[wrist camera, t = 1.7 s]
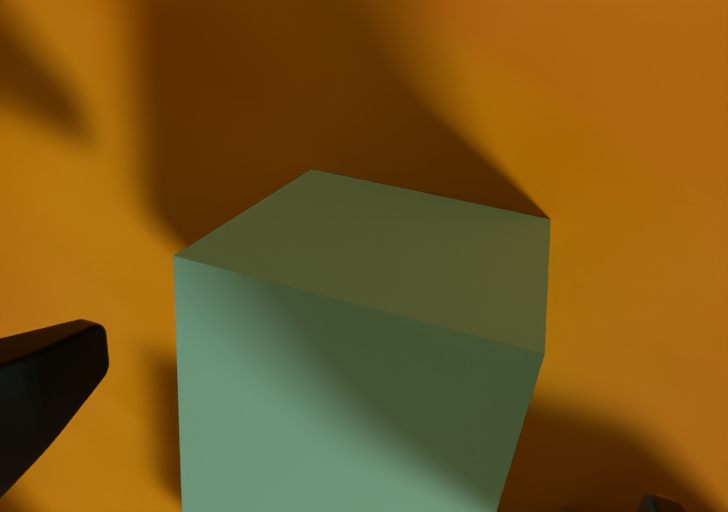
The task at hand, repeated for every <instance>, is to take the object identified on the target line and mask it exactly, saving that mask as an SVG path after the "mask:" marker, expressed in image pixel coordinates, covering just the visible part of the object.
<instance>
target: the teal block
mask: <svg viewBox="0 0 728 512" xmlns="http://www.w3.org/2000/svg"><path fill="white" fill-rule="evenodd" d="M549 242H550V219H547V218H543V217H538V216H533V215H528V214H524V213H519V212H514V211H509V210H505V209H500V208H495V207H490V206H486V205H481V204H476V203H471V202H466V201H462V200H457V199H452V198H447V197H443V196H438V195H433V194H428V193H424V192H419V191H414V190H409V189H404V188H400V187H395V186H390V185H385V184H381V183H376V182H371V181H366V180H362V179H357V178H352V177H347V176H342V175H338V174H333V173H328V172H323V171H319V170H314V169H310V170H309V171H307V172H306V173H304V174H302V175H301V176H299V177H298V178H296V179H295V180H293V181H291V182H290V183H288V184H287V185H285V186H283V187H282V188H280V189H279V190H277V191H276V192H274V193H272V194H271V195H269V196H268V197H266V198H264V199H263V200H261V201H260V202H258V203H256V204H255V205H253V206H252V207H250V208H249V209H247V210H245V211H244V212H242V213H241V214H239V215H237V216H236V217H234V218H233V219H231V220H230V221H228V222H226V223H225V224H223V225H222V226H220V227H218V228H217V229H215V230H214V231H212V232H211V233H209V234H207V235H206V236H204V237H203V238H201V239H199V240H198V241H196V242H195V243H193V244H191V245H190V246H188V247H187V248H185V249H184V250H182V251H180V252H179V253H177V254H176V255H174V256H173V257H174V287H175V317H176V347H177V377H178V408H179V438H180V468H181V498H182V512H496V511H497V508H498V505H499V502H500V498H501V495H502V492H503V488H504V485H505V482H506V479H507V475H508V472H509V469H510V465H511V462H512V459H513V456H514V452H515V449H516V446H517V443H518V439H519V436H520V433H521V429H522V426H523V423H524V420H525V416H526V413H527V410H528V406H529V403H530V400H531V397H532V393H533V390H534V387H535V383H536V380H537V377H538V374H539V370H540V367H541V364H542V361H543V357H544V354H545V332H546V309H547V287H548V264H549Z"/></svg>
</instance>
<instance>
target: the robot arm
mask: <svg viewBox="0 0 728 512" xmlns="http://www.w3.org/2000/svg"><path fill="white" fill-rule="evenodd" d="M108 367H109V355H108V345H107V335H106V330H105V328H104V327H103V326H102V325H101V324H98V323H95V322H92V321H88V320H84V319H79V320H75V321H70V322H66V323H62V324H58V325H54V326H50V327H46V328H42V329H37V330H33V331H29V332H25V333H21V334H17V335H13V336H9V337H4V338H0V498H1V497H2V496H3V495H4V494H5V493H6V492H7V491H8V490H9V489H10V488H11V487H12V486H13V485H14V484H15V483H16V482H17V480H18V479H19V478H20V477H21V476H22V475H23V474H24V473H25V472H26V471H27V470H28V469H29V468H30V467H31V466H32V465H33V464H34V462H35V461H36V460H37V459H38V458H39V457H40V456H41V455H42V454H43V453H44V452H45V451H46V449H47V448H48V447H49V446H50V445H51V444H52V442H53V441H54V440H55V439H56V438H57V436H58V435H59V434H60V433H61V431H62V430H63V429H64V428H65V426H66V425H67V424H68V423H69V421H70V420H71V419H72V417H73V416H74V415H75V414H76V412H77V411H78V410H79V409H80V407H81V406H82V405H83V403H84V402H85V401H86V400H87V398H88V397H89V396H90V395H91V393H92V392H93V391H94V389H95V388H96V387H97V386H98V384H99V383H100V382H101V381H102V379H103V378H104V376H105V375H106V373H107V370H108ZM637 512H688V511H687V510H686V508H685V507H684V506H683V505H682V504H681V503H680V502H679V501H677V500H675V499H672V498H669V497H666V496H662V495H659V494H656V493H652V492H651V493H647V494H646V495H645V496H644V497H643V499H642V501H641V503H640V505H639V507H638V509H637Z"/></svg>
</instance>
